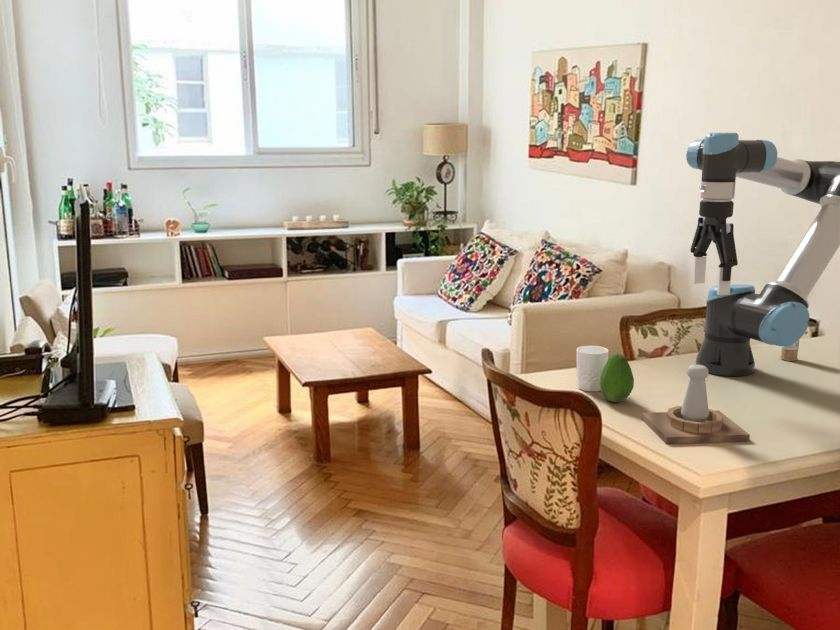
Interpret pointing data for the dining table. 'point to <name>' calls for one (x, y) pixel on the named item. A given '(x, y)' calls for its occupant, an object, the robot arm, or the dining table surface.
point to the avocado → (616, 379)
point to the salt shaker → (696, 395)
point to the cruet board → (694, 437)
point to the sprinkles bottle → (790, 352)
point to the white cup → (590, 367)
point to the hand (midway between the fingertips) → (710, 288)
